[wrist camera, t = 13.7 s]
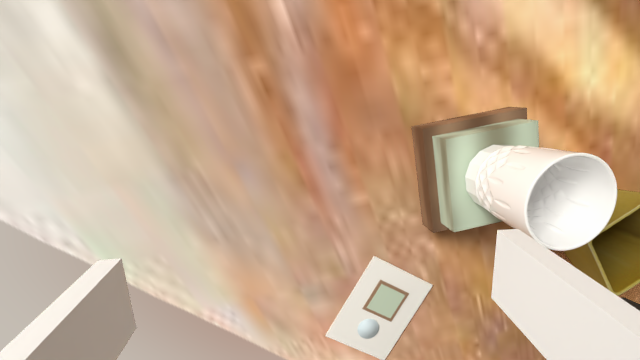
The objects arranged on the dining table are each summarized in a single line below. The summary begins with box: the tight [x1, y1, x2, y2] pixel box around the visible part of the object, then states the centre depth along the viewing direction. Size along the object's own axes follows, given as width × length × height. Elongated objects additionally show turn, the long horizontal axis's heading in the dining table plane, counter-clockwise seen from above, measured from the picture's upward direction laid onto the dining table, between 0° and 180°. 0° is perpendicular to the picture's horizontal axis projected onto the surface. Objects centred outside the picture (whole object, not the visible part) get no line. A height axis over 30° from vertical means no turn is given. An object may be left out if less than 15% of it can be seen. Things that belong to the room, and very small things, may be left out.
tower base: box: [412, 107, 539, 233], centre depth 41 cm, size 12×12×6 cm
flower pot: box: [564, 189, 640, 296], centre depth 43 cm, size 9×9×9 cm
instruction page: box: [325, 256, 433, 360], centre depth 46 cm, size 12×9×1 cm
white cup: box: [465, 145, 617, 251], centre depth 33 cm, size 8×8×10 cm
